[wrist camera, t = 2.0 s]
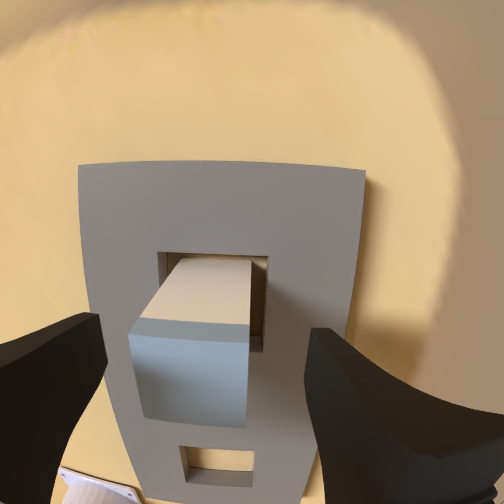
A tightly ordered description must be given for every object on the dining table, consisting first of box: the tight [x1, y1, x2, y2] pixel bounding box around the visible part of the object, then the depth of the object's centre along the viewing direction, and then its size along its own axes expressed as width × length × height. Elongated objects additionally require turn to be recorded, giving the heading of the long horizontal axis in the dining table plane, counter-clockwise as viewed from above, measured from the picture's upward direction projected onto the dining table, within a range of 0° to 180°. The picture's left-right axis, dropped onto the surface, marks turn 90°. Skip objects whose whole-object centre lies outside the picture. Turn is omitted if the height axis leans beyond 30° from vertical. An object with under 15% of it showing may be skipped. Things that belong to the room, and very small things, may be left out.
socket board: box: [78, 161, 366, 504], centre depth 16 cm, size 24×12×2 cm, turn 178°
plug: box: [128, 258, 251, 428], centre depth 12 cm, size 3×3×7 cm
